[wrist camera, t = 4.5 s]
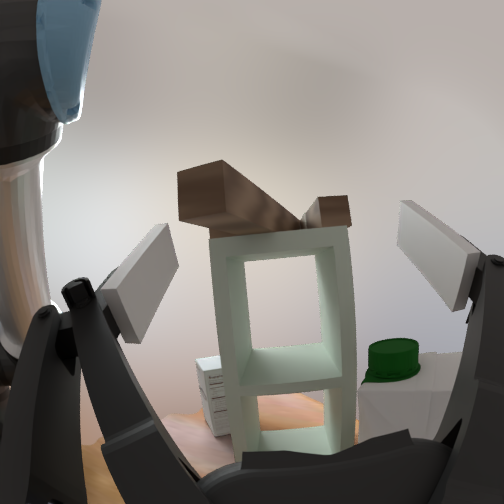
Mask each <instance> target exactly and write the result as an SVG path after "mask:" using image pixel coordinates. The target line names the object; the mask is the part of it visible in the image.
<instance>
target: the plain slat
mask: <svg viewBox="0 0 504 504" xmlns="http://www.w3.org/2000/svg"><path fill="white" fill-rule="evenodd" d="M177 178H178V179H177V180H178V210H179V211H178V212H179V221H182V222H186V223H190V224H194V225H198V226H203V227H207V228H211V229H215V230H219V231H223V232H227V233H231V234H235V235H240V236H242V235H251V234H261V233H271V232H281V231H291V230H301V229H300V220H298V219H297V218H296V217H295V216H294V215H293V214H291V213H290V212H289V211H288V210H286V209H285V208H284V207H283V206H281V205H280V204H279V203H278V202H276V201H275V200H274V199H272V198H271V197H270V196H269V195H268V194H266V193H265V192H264V191H263V190H261V189H260V188H259V187H257V186H256V185H255V184H254V183H252V182H251V181H250V180H248V179H247V178H246V177H244V176H243V175H242V174H241V173H239V172H238V171H237V170H235V169H234V168H232V167H231V166H230V165H229V164H227V163H226V162H225V161H223V160H219V161H215V162H211V163H208V164H204V165H200V166H197V167H193V168H190V169H186V170H183V171H180V172H177Z"/></svg>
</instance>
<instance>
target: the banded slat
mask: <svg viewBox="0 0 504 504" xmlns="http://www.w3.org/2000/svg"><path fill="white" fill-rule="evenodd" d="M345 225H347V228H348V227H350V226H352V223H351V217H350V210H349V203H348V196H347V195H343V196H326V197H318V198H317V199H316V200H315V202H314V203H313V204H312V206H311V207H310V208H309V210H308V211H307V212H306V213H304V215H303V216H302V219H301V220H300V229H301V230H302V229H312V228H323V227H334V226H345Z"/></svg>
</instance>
